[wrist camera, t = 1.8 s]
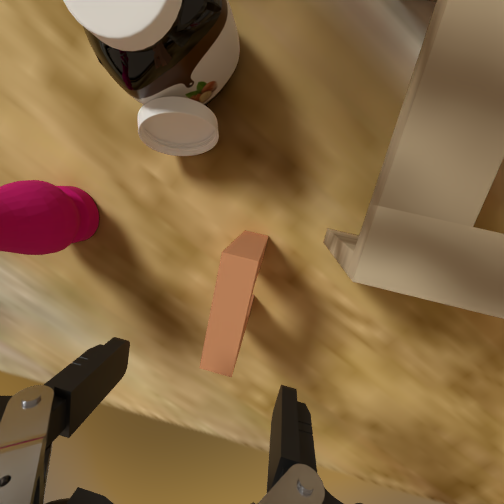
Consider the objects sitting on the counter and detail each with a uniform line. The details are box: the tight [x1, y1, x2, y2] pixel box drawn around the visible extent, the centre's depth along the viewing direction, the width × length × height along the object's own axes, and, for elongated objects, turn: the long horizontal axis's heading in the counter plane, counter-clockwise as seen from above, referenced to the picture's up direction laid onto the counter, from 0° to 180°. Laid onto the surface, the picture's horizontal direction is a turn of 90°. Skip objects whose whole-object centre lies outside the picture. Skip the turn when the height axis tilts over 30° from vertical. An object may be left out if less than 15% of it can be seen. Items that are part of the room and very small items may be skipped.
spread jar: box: [63, 0, 240, 156], centre depth 19 cm, size 12×11×12 cm
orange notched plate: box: [200, 230, 268, 377], centre depth 24 cm, size 10×3×10 cm, turn 167°
